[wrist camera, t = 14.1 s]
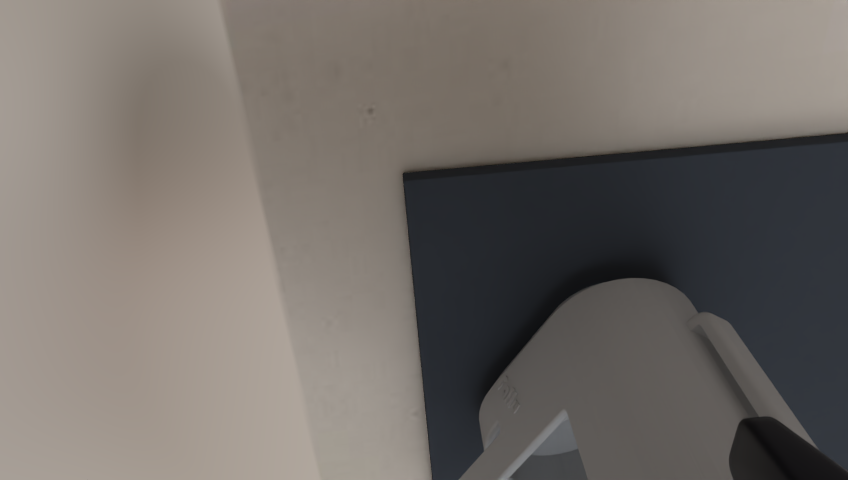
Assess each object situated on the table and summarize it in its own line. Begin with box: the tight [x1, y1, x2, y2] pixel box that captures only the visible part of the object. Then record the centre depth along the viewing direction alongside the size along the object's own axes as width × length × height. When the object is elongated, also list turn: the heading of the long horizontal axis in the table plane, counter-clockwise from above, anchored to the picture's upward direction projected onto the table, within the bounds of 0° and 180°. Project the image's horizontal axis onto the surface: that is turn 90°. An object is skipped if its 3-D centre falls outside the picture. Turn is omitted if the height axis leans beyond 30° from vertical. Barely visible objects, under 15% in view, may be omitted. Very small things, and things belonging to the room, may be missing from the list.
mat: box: [403, 134, 848, 480], centre depth 27 cm, size 20×24×1 cm
